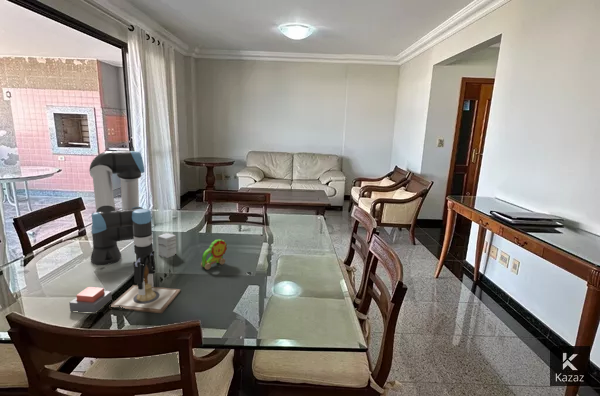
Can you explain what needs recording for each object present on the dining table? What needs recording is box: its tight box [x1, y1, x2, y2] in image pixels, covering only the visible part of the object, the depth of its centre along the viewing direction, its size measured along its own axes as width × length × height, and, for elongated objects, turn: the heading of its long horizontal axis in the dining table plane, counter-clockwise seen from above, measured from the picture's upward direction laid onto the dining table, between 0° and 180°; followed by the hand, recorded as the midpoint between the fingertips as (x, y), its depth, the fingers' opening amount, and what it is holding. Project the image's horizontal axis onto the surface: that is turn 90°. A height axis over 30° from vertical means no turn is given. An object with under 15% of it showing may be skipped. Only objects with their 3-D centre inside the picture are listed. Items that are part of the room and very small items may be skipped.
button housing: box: [69, 290, 113, 312], centre depth 141 cm, size 11×11×4 cm
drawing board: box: [110, 284, 182, 314], centre depth 150 cm, size 24×19×1 cm
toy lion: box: [200, 238, 228, 270], centre depth 186 cm, size 16×5×15 cm, turn 141°
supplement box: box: [157, 232, 177, 259], centre depth 195 cm, size 7×7×13 cm
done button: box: [76, 286, 105, 303], centre depth 141 cm, size 7×7×3 cm
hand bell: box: [137, 265, 156, 301], centre depth 147 cm, size 8×8×16 cm
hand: (146, 290), depth 149 cm, fingers open, 6 cm apart
